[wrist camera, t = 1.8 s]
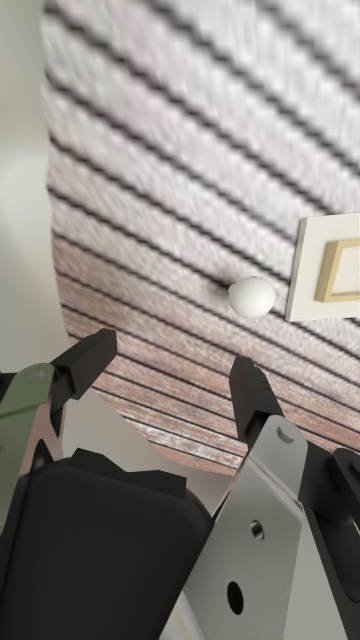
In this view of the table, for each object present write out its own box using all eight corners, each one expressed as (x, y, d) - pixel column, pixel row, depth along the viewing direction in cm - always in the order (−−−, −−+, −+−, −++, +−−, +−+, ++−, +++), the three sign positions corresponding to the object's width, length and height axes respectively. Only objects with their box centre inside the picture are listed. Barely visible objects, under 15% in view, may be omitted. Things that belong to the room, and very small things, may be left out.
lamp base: (300, 220, 26) (318, 213, 23) (410, 210, 25) (444, 201, 22) (284, 319, 32) (296, 325, 29) (373, 312, 31) (395, 318, 28)
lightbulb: (223, 309, 31) (245, 331, 21) (213, 282, 29) (231, 290, 19) (252, 297, 30) (290, 313, 20) (243, 268, 29) (279, 269, 18)
